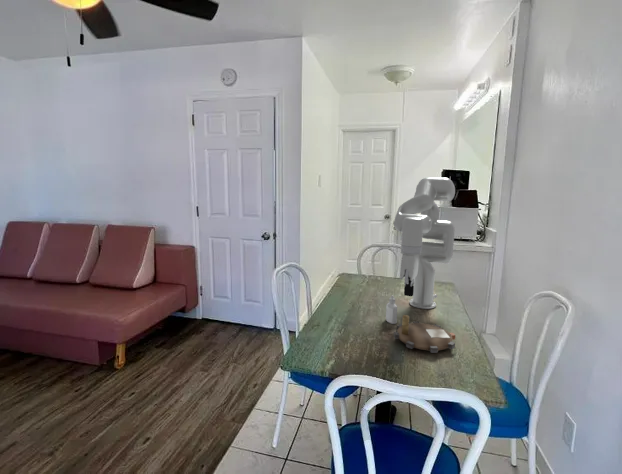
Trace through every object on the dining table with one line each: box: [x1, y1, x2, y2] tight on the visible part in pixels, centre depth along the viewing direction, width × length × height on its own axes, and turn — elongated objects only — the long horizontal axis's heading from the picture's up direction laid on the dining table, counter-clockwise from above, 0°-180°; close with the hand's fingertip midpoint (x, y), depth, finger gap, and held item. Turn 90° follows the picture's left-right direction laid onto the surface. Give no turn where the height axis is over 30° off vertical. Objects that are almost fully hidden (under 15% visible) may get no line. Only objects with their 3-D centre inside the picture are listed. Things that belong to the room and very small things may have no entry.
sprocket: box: [393, 314, 456, 354], centre depth 134 cm, size 23×23×9 cm
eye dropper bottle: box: [385, 294, 398, 325], centre depth 153 cm, size 4×6×12 cm
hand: (408, 295), depth 137 cm, fingers closed
